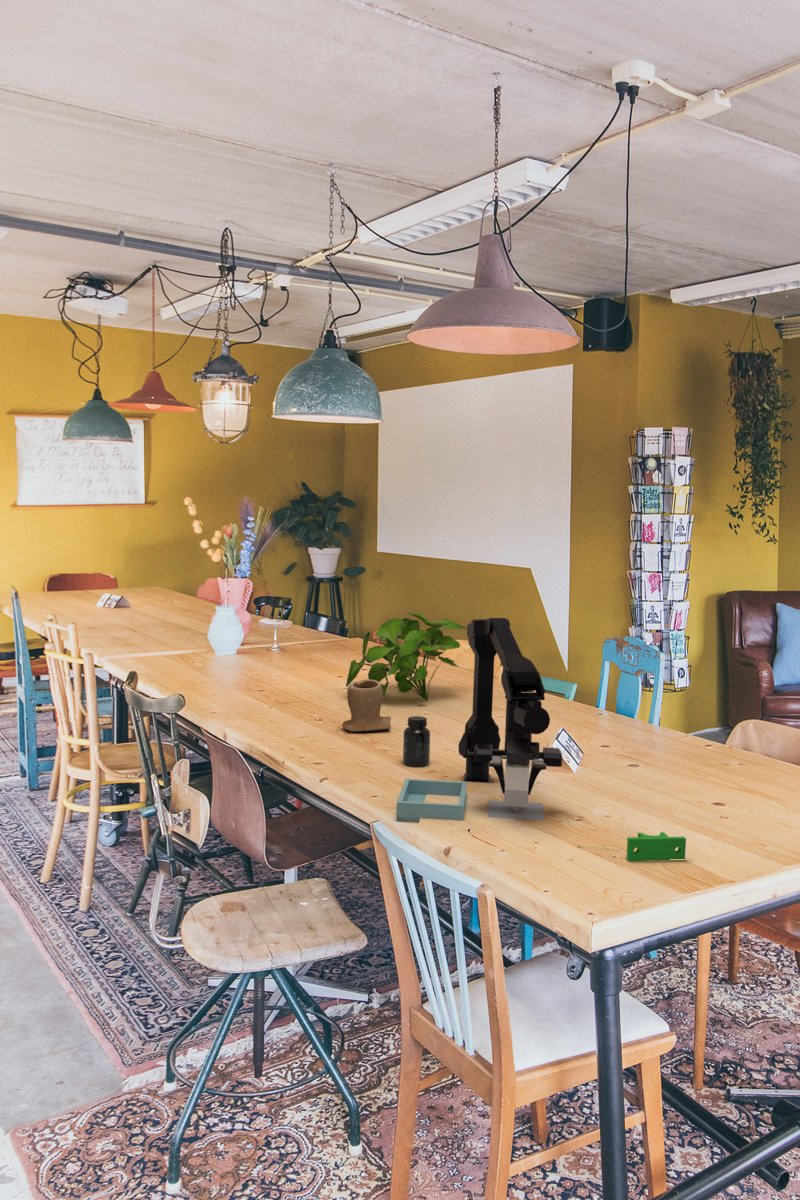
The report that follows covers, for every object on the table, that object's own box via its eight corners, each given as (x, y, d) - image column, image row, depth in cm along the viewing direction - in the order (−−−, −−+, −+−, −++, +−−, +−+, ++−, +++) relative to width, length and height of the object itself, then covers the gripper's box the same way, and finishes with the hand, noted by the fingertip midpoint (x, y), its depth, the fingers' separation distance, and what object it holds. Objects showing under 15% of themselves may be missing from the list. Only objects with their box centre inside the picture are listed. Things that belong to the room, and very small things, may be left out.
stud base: (488, 804, 219) (488, 786, 219) (542, 807, 218) (542, 789, 218) (487, 821, 208) (487, 802, 207) (544, 825, 206) (545, 805, 206)
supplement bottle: (399, 761, 254) (400, 715, 253) (423, 759, 256) (425, 714, 255) (408, 768, 248) (409, 721, 247) (433, 766, 250) (434, 720, 249)
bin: (405, 795, 224) (405, 778, 224) (466, 799, 223) (466, 782, 223) (396, 820, 207) (396, 802, 206) (462, 824, 205) (463, 806, 205)
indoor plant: (422, 698, 303) (384, 609, 307) (344, 735, 332) (311, 654, 336) (508, 665, 334) (472, 585, 338) (430, 702, 363) (399, 628, 367)
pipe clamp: (677, 854, 191) (678, 831, 191) (684, 861, 188) (686, 838, 187) (621, 855, 190) (623, 832, 190) (628, 862, 186) (629, 838, 186)
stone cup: (347, 736, 280) (349, 684, 278) (339, 727, 291) (340, 677, 290) (399, 734, 284) (400, 683, 282) (388, 725, 295) (389, 676, 294)
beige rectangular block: (504, 806, 210) (505, 766, 210) (504, 799, 215) (505, 760, 215) (527, 807, 210) (529, 768, 209) (527, 800, 215) (528, 762, 214)
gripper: (474, 729, 204) (471, 802, 205) (565, 734, 202) (561, 808, 203) (475, 718, 215) (473, 787, 216) (561, 722, 213) (558, 792, 215)
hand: (516, 794), depth 212 cm, fingers closed on beige rectangular block, 5 cm apart
